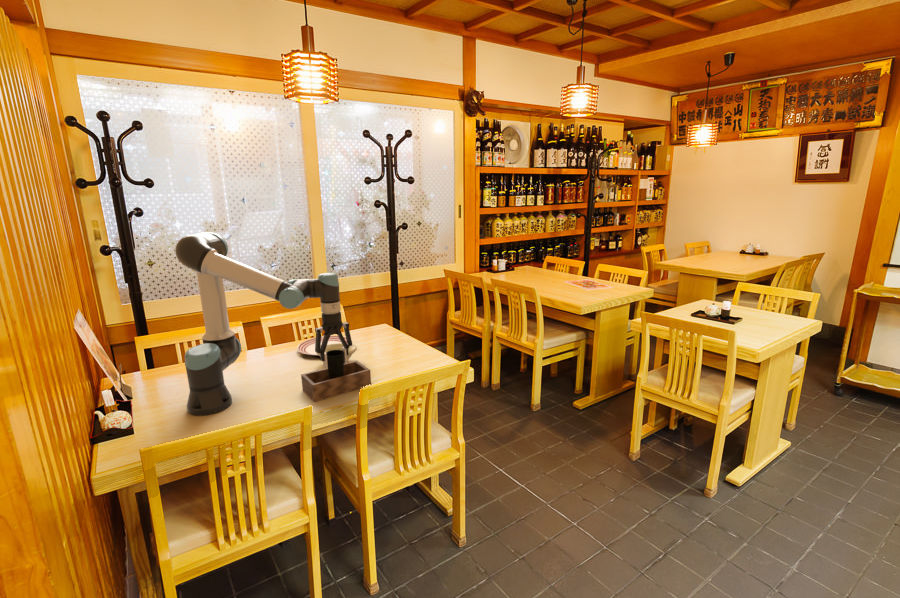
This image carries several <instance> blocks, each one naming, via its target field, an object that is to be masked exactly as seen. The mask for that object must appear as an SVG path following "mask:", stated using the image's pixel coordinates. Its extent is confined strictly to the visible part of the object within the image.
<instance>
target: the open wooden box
mask: <svg viewBox="0 0 900 598" xmlns="http://www.w3.org/2000/svg"><path fill="white" fill-rule="evenodd" d="M371 375H372V373H371V369H370V368H369V367H367V366H366V365H365V364H362V363H361V362H359V361H358V360H354V361H350V362H347V364H344V376H341V377H337V378H334V379H329V374H328V369H325V368H321V369H317V370H314V371H309V372H306V373H302V374H300V376H301V377H300V379H301V388H302V392H304V393H305V394H306V396H307V397H309V398H310V399H311V400H312V401H313V402H314V403H316V402H320V401H323V400H326V399H327V400H328V399H329V398H334V397H337V396H339V395H344V394H347V393H351V392H354V391H357V390H361V389H362V388H361V387H363V386H366V385H369V384H371V385H372V376H371ZM360 388H361V389H360Z"/></svg>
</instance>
